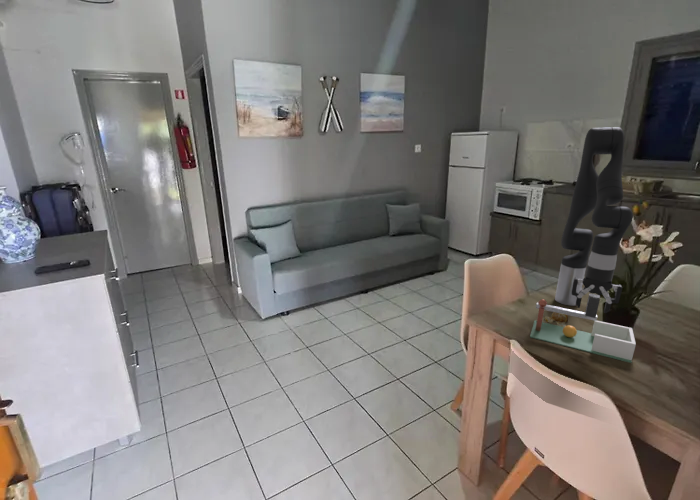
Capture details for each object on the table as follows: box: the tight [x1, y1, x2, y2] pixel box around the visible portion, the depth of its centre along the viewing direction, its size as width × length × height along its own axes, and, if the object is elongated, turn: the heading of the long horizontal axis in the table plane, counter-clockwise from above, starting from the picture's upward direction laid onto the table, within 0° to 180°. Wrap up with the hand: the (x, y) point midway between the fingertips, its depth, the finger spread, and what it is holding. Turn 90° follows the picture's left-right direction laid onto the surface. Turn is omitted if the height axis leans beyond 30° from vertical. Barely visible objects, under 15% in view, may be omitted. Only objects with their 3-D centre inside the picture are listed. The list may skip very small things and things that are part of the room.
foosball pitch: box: [529, 319, 637, 364], centre depth 129 cm, size 14×30×6 cm, turn 58°
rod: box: [535, 292, 601, 331], centre depth 130 cm, size 4×19×17 cm, turn 58°
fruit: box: [544, 312, 569, 327], centre depth 142 cm, size 8×8×4 cm
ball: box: [563, 324, 577, 338], centre depth 131 cm, size 4×4×4 cm
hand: (591, 309), depth 125 cm, fingers open, 7 cm apart
